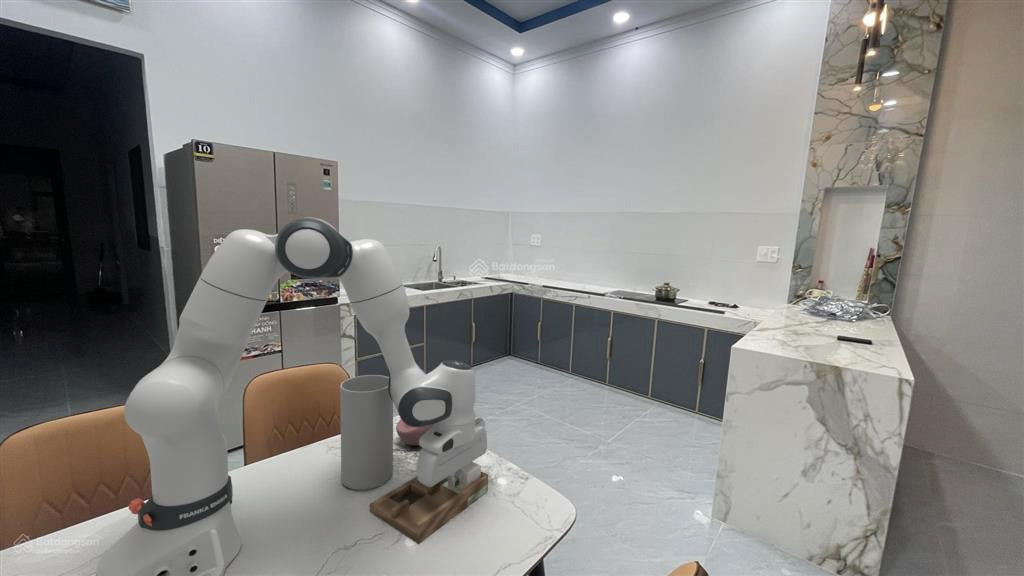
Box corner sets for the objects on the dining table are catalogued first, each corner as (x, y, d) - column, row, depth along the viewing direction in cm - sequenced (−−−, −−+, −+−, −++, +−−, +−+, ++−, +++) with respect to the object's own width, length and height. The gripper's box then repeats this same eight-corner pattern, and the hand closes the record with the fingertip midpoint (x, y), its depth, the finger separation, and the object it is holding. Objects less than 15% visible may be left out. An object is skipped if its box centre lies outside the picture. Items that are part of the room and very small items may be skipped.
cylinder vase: (363, 498, 97) (363, 396, 94) (330, 480, 103) (329, 384, 100) (403, 473, 107) (403, 381, 105) (371, 459, 114) (371, 372, 111)
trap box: (418, 544, 83) (418, 525, 82) (369, 512, 92) (369, 495, 91) (489, 490, 101) (489, 475, 101) (442, 468, 111) (443, 454, 110)
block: (466, 492, 97) (467, 474, 97) (451, 484, 100) (452, 467, 99) (480, 482, 101) (481, 465, 101) (465, 475, 104) (465, 458, 104)
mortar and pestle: (391, 438, 126) (392, 402, 125) (429, 431, 132) (430, 396, 131) (401, 456, 116) (401, 417, 114) (442, 447, 121) (442, 410, 120)
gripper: (474, 412, 105) (473, 462, 107) (413, 441, 89) (412, 501, 90) (494, 418, 102) (492, 471, 103) (433, 451, 85) (432, 513, 87)
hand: (454, 485), depth 97 cm, fingers closed
